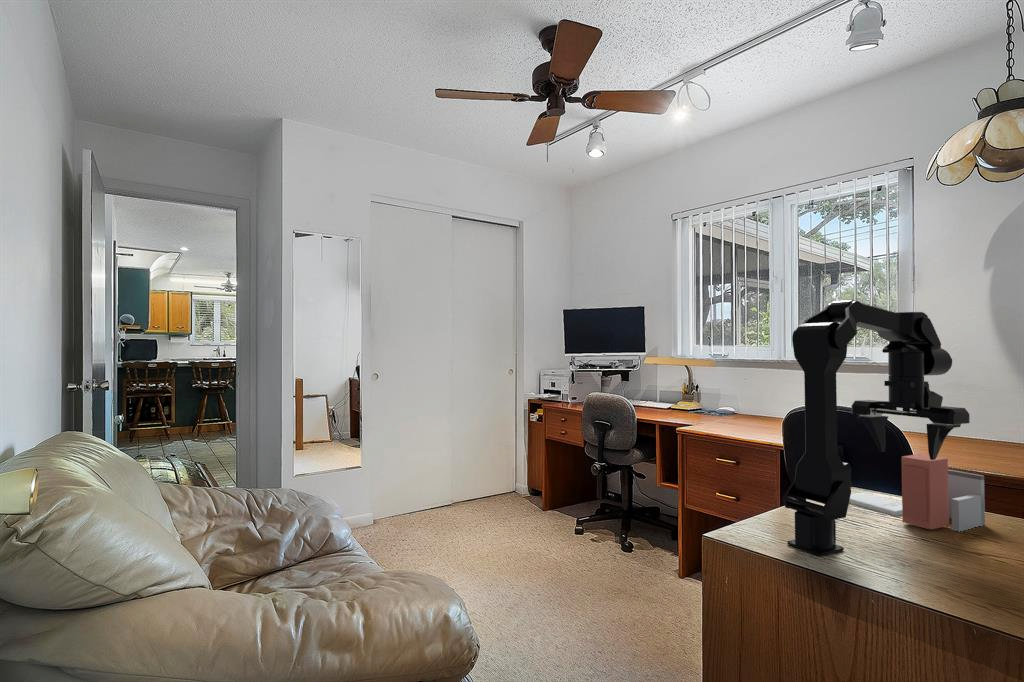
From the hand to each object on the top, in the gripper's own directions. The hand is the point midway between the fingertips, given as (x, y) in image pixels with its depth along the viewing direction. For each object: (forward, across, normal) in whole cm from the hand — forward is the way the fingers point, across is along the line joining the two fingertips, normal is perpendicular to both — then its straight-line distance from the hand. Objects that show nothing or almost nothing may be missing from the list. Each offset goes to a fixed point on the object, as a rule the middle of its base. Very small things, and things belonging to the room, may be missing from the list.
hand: (906, 455), depth 107 cm
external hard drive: (+15, +11, -10) cm, 21 cm away
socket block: (+14, -1, -10) cm, 17 cm away
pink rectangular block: (+14, -1, -4) cm, 14 cm away
